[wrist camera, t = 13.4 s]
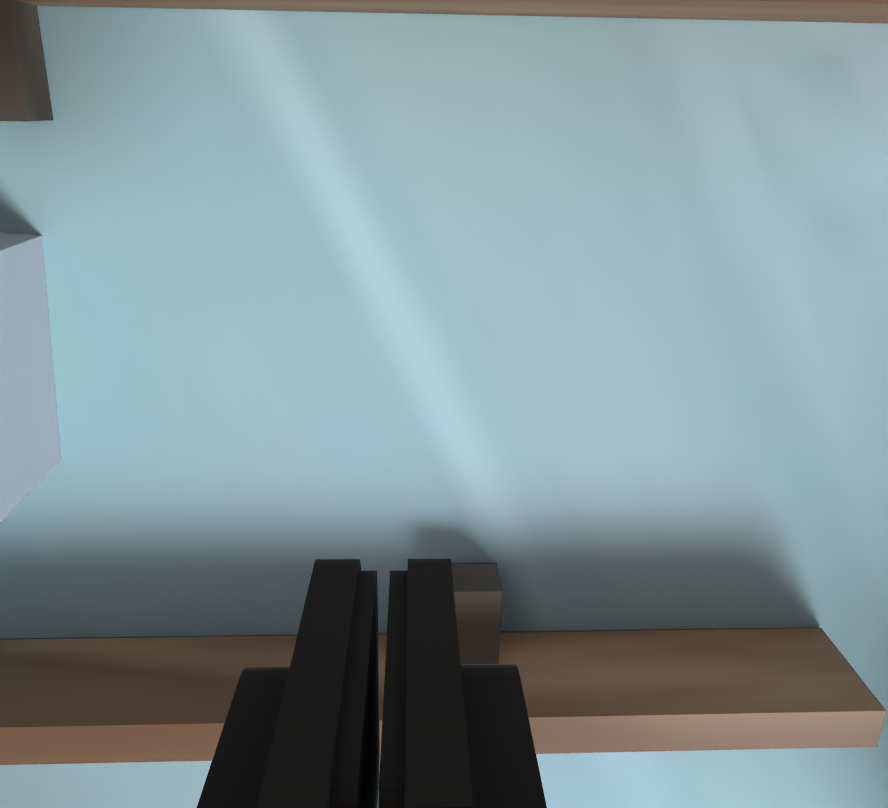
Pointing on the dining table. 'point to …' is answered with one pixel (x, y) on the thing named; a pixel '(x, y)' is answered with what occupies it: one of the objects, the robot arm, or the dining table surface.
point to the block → (25, 371)
